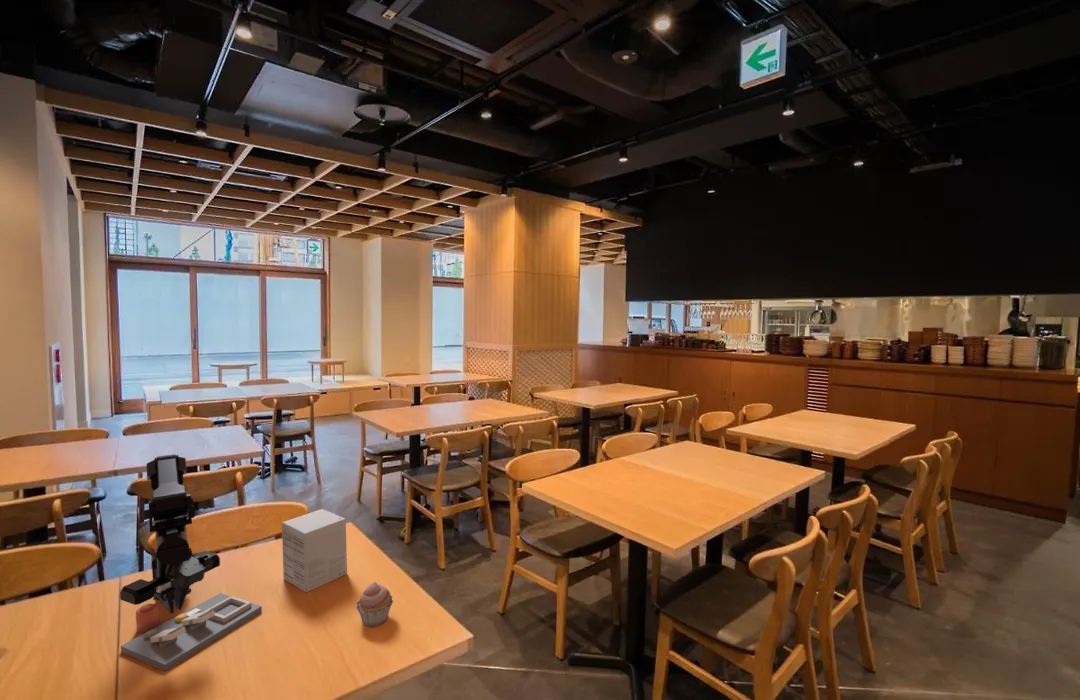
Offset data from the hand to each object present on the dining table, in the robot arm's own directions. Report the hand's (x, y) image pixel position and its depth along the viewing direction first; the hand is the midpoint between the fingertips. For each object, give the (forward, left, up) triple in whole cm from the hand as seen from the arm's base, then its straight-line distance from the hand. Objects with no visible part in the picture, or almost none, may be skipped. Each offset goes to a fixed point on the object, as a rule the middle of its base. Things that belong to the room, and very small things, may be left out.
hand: (175, 611), depth 116 cm
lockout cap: (-16, +3, -10) cm, 19 cm away
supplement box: (+3, +38, -10) cm, 39 cm away
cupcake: (+34, +28, -10) cm, 45 cm away
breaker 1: (-3, 0, -6) cm, 7 cm away
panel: (-4, +7, -10) cm, 13 cm away
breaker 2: (-3, +7, -6) cm, 10 cm away
